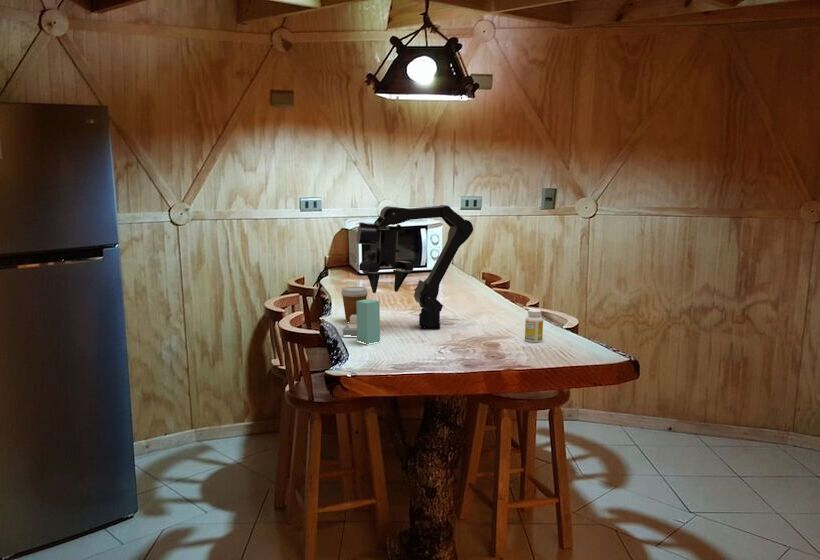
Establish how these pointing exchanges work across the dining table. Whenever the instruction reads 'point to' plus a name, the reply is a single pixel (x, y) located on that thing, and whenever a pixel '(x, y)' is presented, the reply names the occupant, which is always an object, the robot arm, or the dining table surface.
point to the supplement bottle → (534, 326)
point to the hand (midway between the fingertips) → (385, 292)
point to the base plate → (351, 326)
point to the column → (368, 321)
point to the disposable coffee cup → (352, 299)
